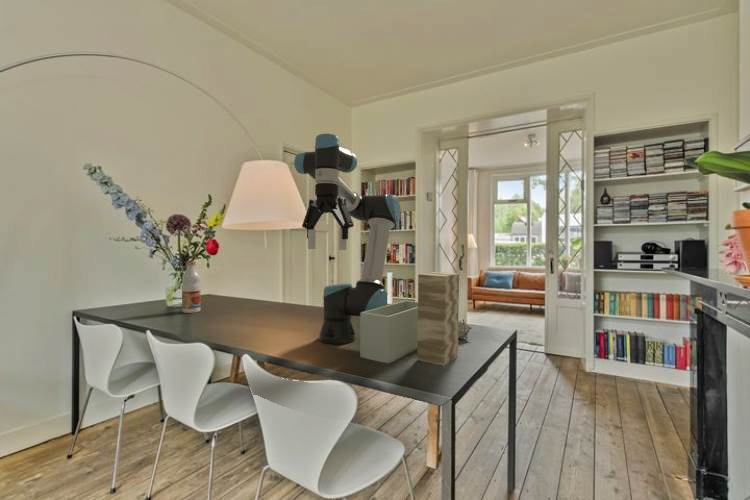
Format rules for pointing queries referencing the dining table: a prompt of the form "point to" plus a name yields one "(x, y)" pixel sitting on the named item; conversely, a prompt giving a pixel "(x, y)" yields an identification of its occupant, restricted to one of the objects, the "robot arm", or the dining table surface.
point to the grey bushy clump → (463, 329)
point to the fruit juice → (191, 289)
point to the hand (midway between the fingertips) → (326, 249)
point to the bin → (389, 331)
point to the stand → (438, 317)
